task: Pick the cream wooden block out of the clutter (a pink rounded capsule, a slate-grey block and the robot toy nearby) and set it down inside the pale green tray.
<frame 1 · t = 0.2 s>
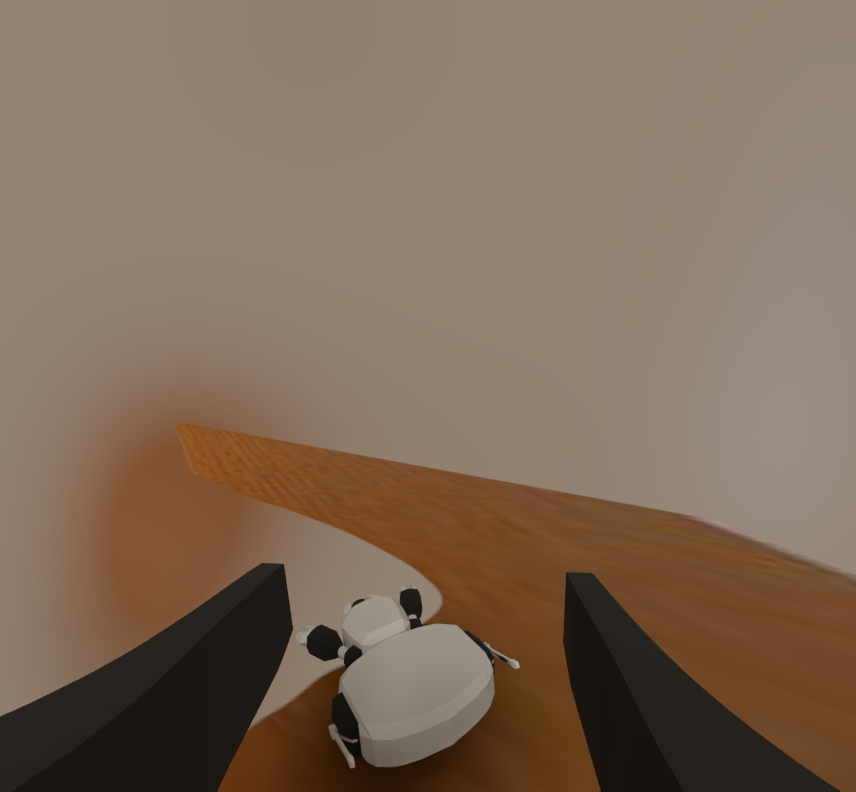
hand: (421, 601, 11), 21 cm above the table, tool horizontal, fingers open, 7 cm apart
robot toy: (397, 687, 34), on the table
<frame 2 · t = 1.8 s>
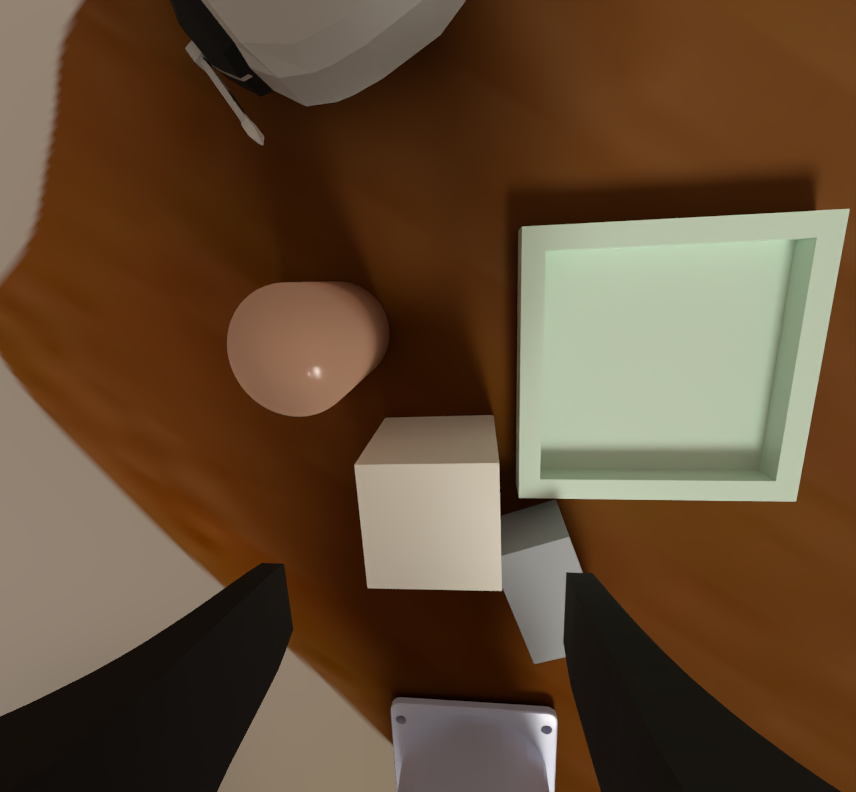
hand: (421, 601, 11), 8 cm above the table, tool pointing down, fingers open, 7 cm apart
cream block: (441, 466, 19), on the table
slate block: (540, 555, 20), on the table
pink rounded capsule: (340, 332, 18), on the table
tray: (650, 362, 17), on the table
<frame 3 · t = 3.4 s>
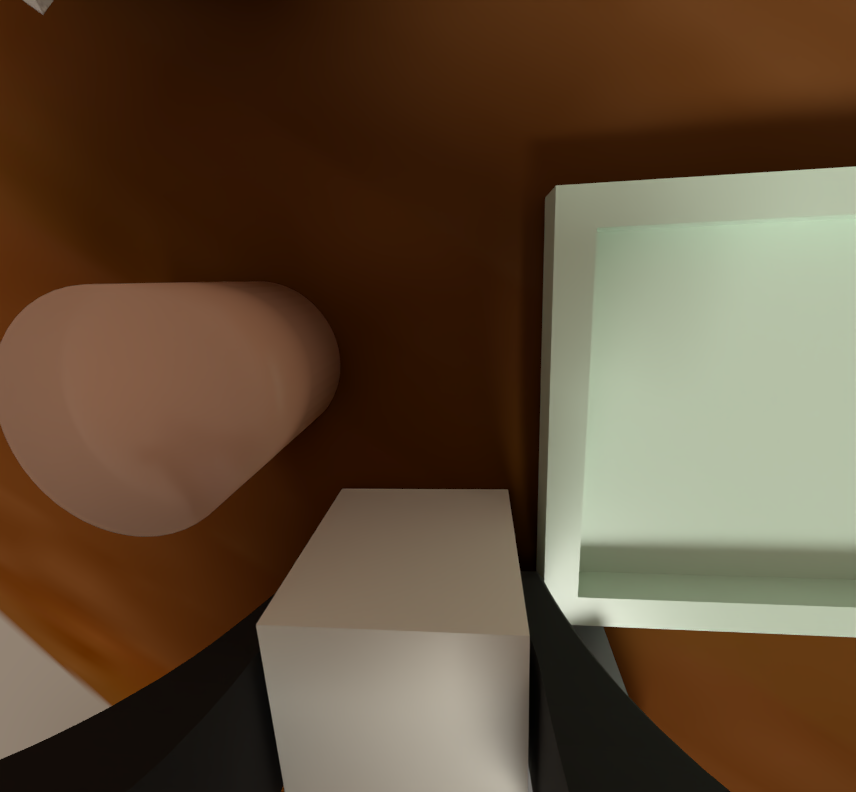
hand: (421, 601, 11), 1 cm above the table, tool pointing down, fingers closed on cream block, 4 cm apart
cream block: (427, 561, 13), on the table, touching gripper
slate block: (570, 687, 13), on the table
pink rounded capsule: (265, 360, 12), on the table
tray: (755, 412, 11), on the table
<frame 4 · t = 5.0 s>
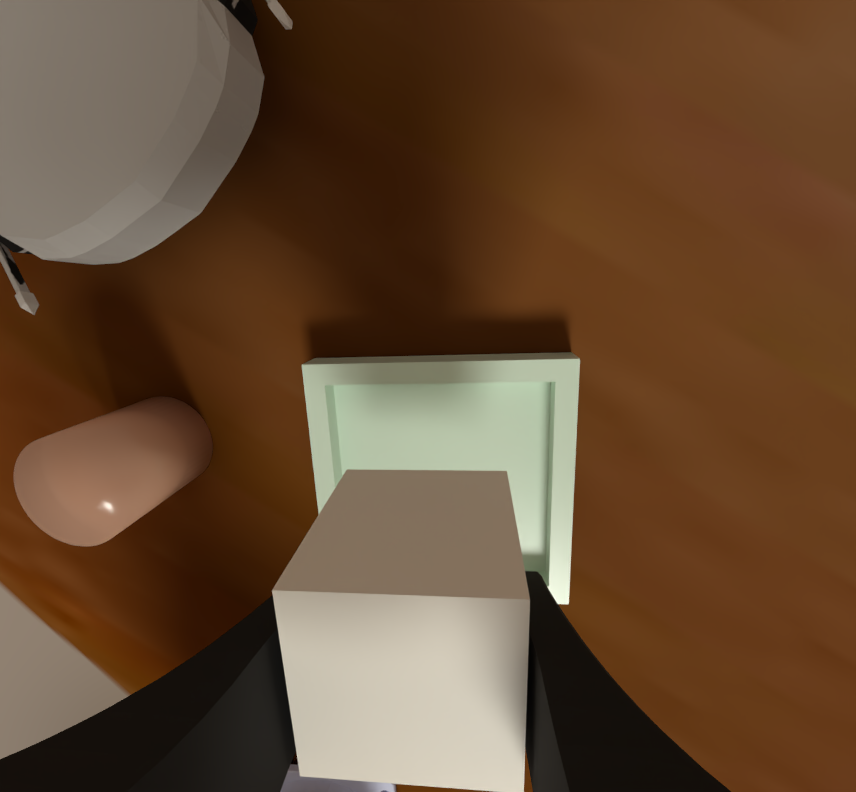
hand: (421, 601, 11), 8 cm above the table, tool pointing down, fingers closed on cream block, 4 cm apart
cream block: (428, 540, 13), point 6 cm above the table, touching gripper
pink rounded capsule: (169, 440, 20), on the table
tray: (443, 474, 19), on the table
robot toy: (96, 51, 16), on the table
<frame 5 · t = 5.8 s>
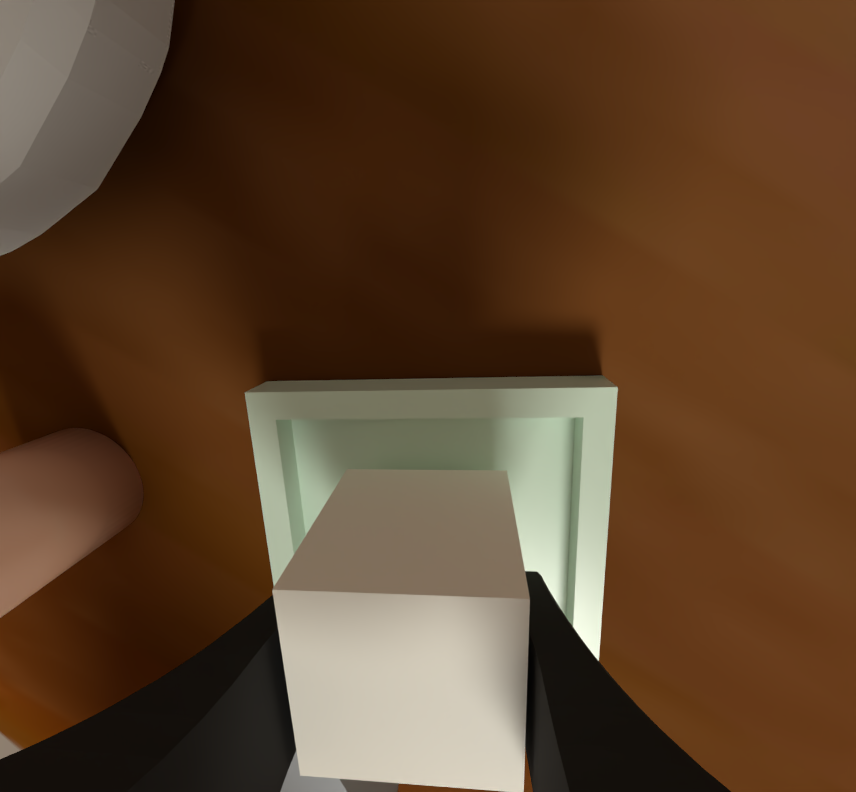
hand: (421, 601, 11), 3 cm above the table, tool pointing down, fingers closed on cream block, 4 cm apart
cream block: (428, 540, 13), point 1 cm above the table, touching gripper
slate block: (339, 720, 17), on the table
pink rounded capsule: (89, 482, 16), on the table
tray: (434, 528, 15), on the table
when the fingers open (3 cm above the table, at t = 6.5 s): cream block stays where it is, resting on tray.
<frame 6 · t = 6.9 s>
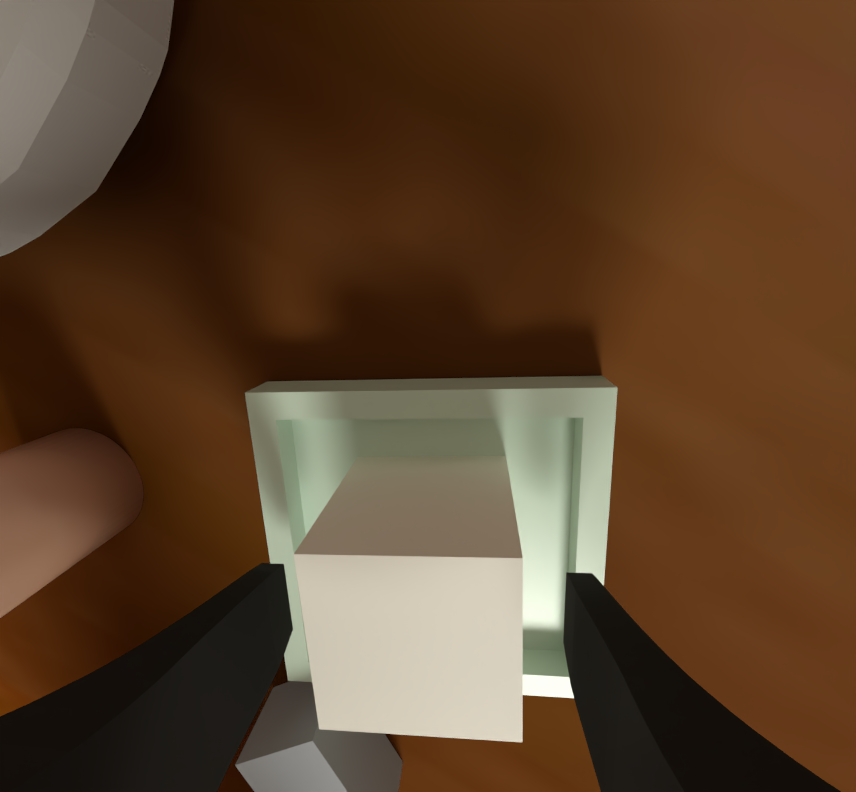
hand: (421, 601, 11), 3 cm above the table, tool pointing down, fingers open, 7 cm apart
cream block: (433, 523, 14), resting on tray
slate block: (339, 721, 17), on the table
pink rounded capsule: (89, 482, 16), on the table
tray: (434, 528, 15), on the table
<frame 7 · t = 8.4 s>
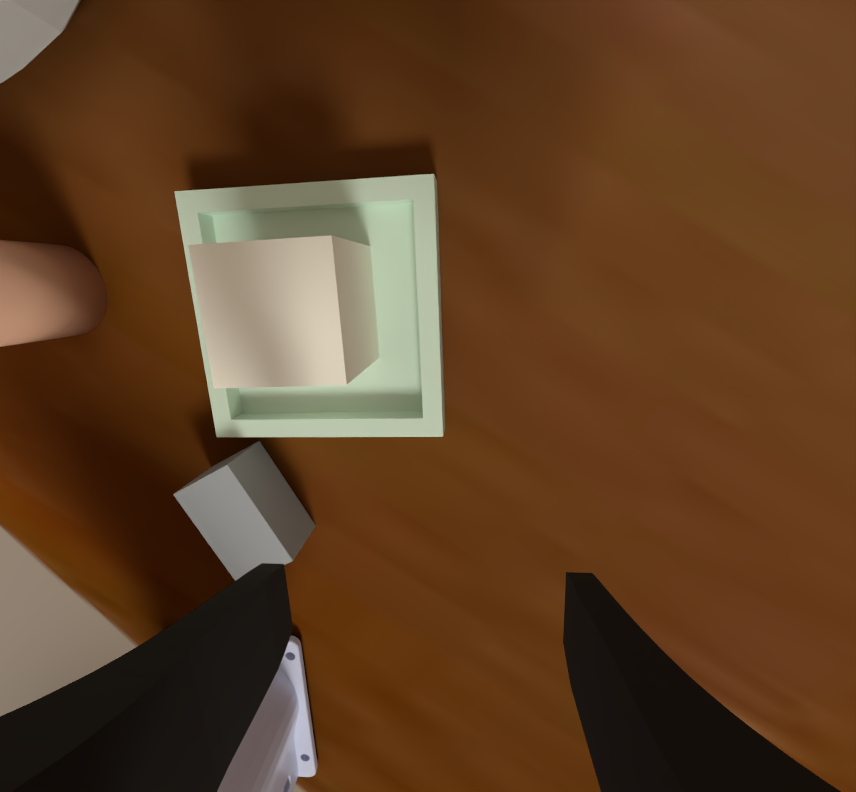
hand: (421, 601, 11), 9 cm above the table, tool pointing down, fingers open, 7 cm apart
cream block: (322, 306, 19), resting on tray
slate block: (265, 495, 22), on the table
pink rounded capsule: (65, 290, 20), on the table
tray: (325, 315, 19), on the table
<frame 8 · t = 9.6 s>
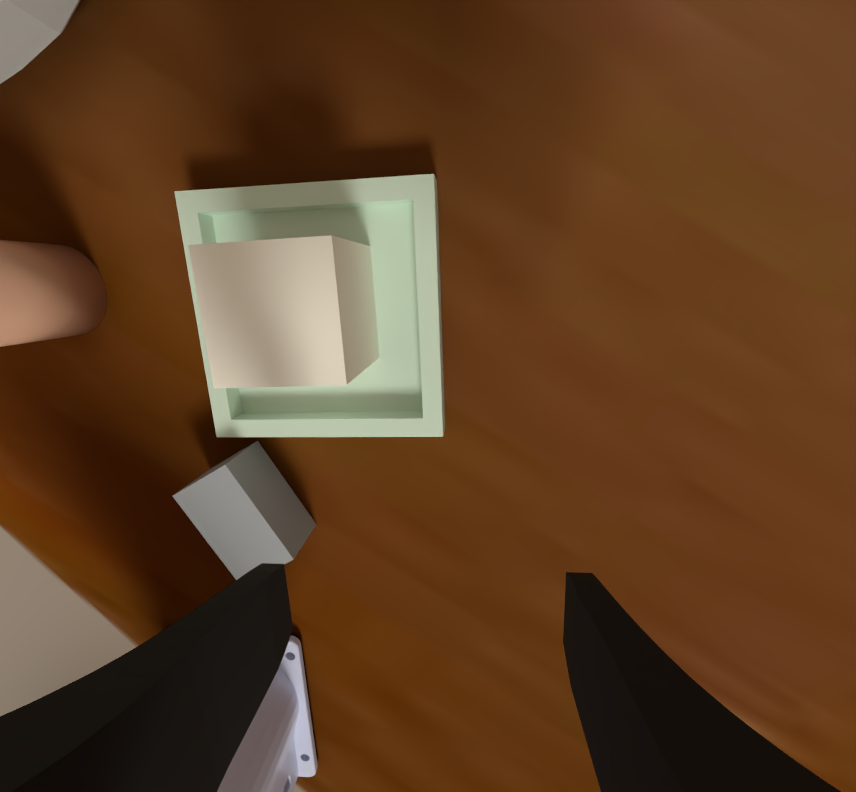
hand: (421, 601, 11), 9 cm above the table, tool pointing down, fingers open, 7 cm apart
cream block: (322, 306, 19), resting on tray
slate block: (265, 495, 22), on the table
pink rounded capsule: (65, 290, 20), on the table
tray: (325, 315, 19), on the table
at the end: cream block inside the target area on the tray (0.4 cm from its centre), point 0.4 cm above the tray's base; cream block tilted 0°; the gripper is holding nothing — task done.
